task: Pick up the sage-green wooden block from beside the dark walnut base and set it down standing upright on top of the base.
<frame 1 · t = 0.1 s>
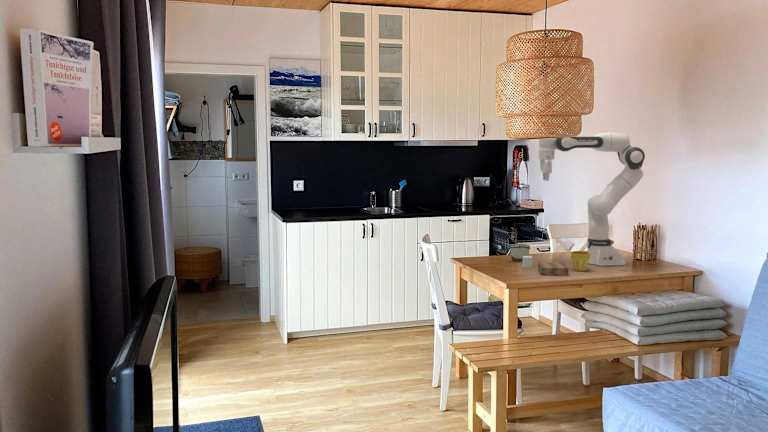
hand: (545, 180, 375), 48 cm above the table, tool pointing down, fingers open, 8 cm apart
food container: (519, 261, 382), on the table
sage block: (527, 267, 365), on the table
plant pot: (580, 270, 357), on the table
walnut base: (552, 272, 350), on the table
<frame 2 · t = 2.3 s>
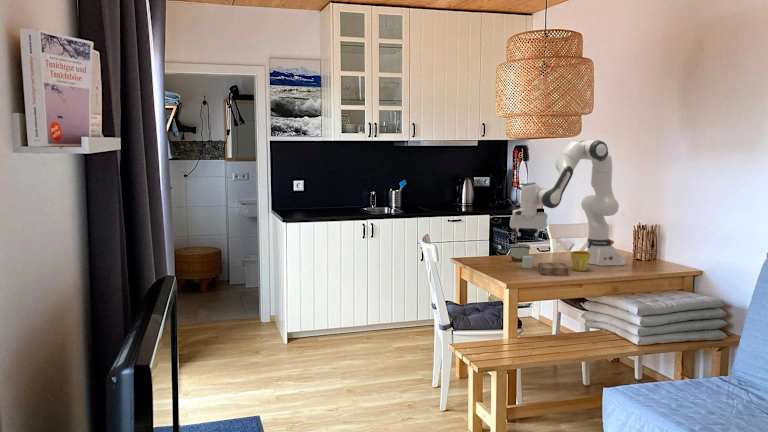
hand: (527, 236, 363), 18 cm above the table, tool pointing down, fingers open, 8 cm apart
nothing on the table moved.
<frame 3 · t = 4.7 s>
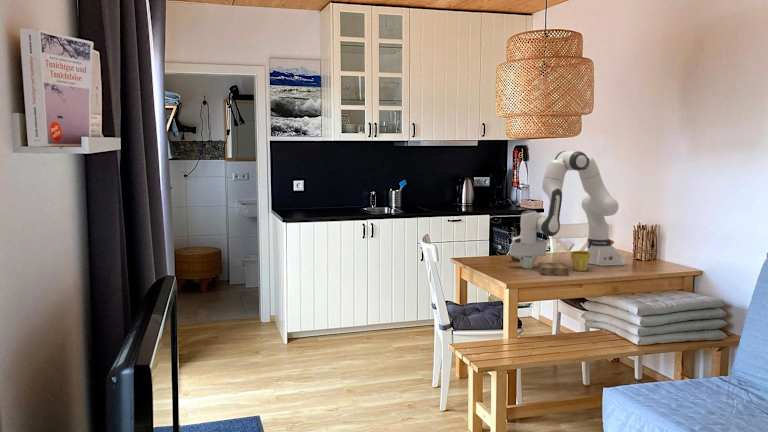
hand: (527, 263, 365), 2 cm above the table, tool pointing down, fingers closed on sage block, 5 cm apart
sage block: (527, 267, 365), on the table, touching gripper
everything else where it was.
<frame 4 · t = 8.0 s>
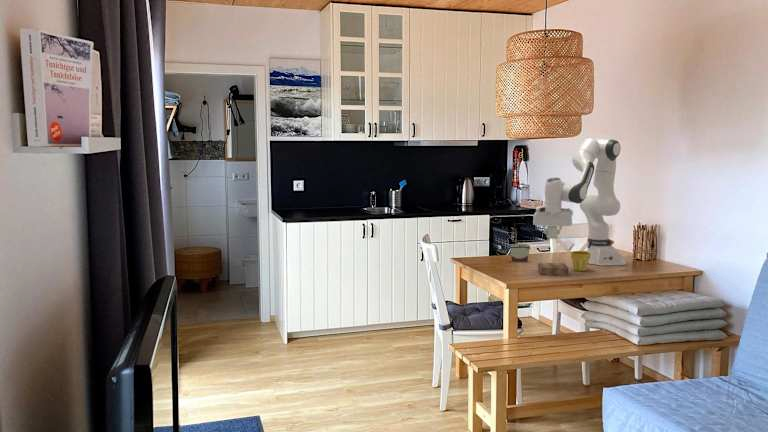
hand: (552, 233, 349), 21 cm above the table, tool pointing down, fingers closed on sage block, 5 cm apart
sage block: (552, 237, 349), point 19 cm above the table, touching gripper
everything else where it was.
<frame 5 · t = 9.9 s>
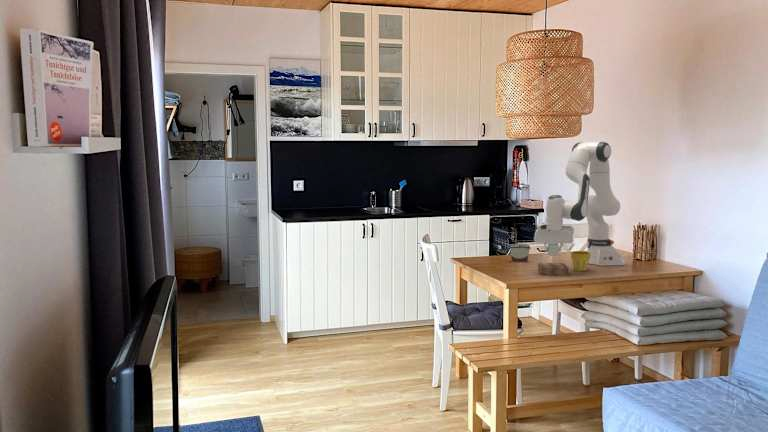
hand: (553, 251, 349), 12 cm above the table, tool pointing down, fingers closed on sage block, 5 cm apart
sage block: (553, 255, 349), point 10 cm above the table, touching gripper
everything else where it was.
when the fingers open (8 cm above the table, at t = 11.6 s): sage block drops 1 cm, resting on walnut base.
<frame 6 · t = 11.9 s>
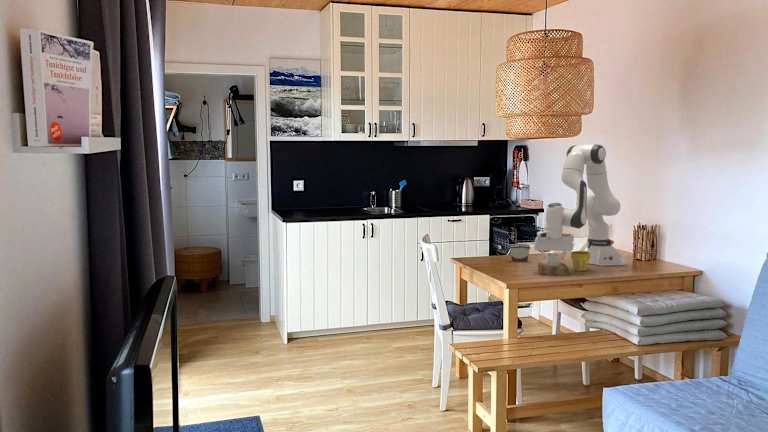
hand: (553, 258, 349), 8 cm above the table, tool pointing down, fingers open, 8 cm apart
sage block: (553, 265, 350), point 4 cm above the table, touching walnut base
everything else where it was.
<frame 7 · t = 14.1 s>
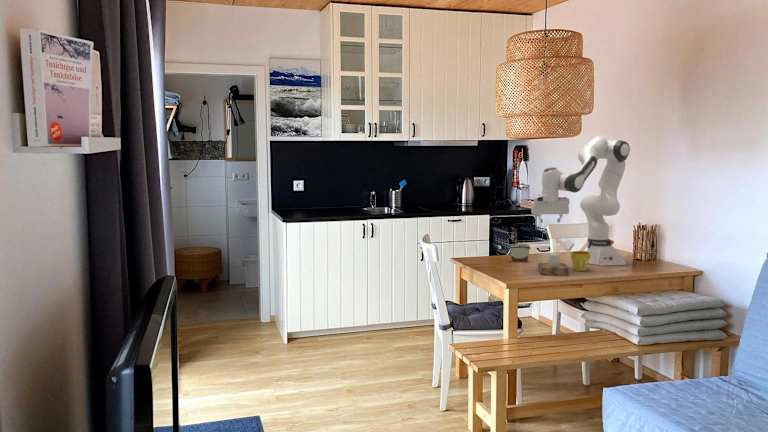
hand: (550, 222, 358), 26 cm above the table, tool pointing down, fingers open, 8 cm apart
nothing on the table moved.
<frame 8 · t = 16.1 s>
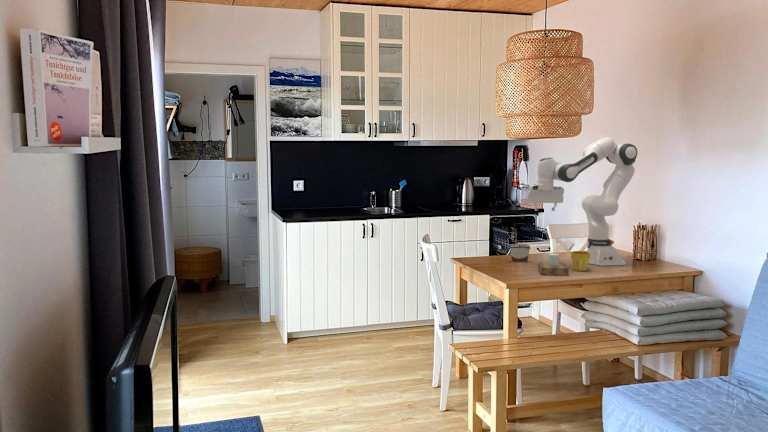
hand: (544, 210, 369), 31 cm above the table, tool pointing down, fingers open, 8 cm apart
nothing on the table moved.
at the end: sage block inside the target area on the walnut base (0.0 cm from its centre), point 4.0 cm above the walnut base's base; sage block tilted 0°; the gripper is holding nothing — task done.
